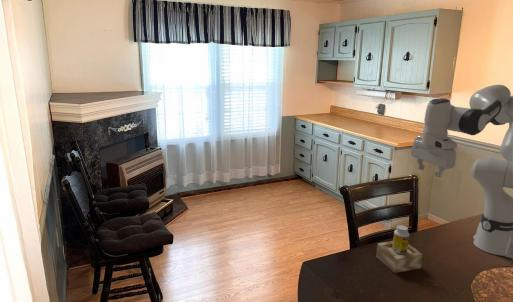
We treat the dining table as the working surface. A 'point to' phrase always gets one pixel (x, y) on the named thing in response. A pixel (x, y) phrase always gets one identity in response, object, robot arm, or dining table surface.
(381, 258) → the grey beige stone block
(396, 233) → the supplement bottle
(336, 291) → the dining table surface
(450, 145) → the robot arm
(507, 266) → the dining table surface
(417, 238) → the dining table surface
